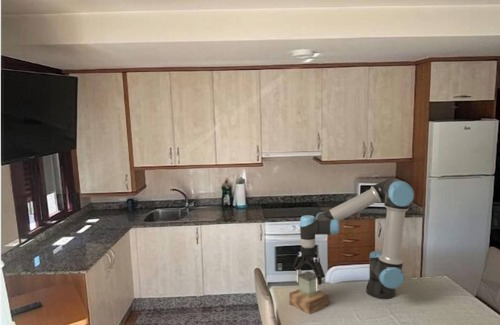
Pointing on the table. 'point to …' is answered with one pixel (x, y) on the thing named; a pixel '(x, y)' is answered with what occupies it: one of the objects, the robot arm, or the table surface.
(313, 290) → the tea tin
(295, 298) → the block
